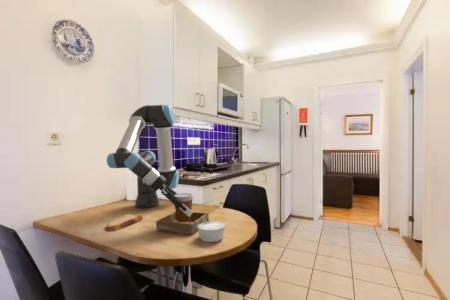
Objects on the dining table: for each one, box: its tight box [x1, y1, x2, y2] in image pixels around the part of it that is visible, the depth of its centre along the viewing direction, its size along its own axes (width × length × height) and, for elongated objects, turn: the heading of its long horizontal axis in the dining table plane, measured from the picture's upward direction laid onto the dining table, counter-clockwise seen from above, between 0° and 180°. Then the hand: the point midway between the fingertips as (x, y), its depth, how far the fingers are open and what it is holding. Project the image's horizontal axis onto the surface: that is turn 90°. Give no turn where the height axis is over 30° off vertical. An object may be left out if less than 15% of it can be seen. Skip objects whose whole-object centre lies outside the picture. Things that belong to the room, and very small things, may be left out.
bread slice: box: [105, 213, 144, 232], centre depth 120 cm, size 18×18×4 cm
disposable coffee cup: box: [174, 192, 194, 222], centre depth 114 cm, size 10×10×12 cm
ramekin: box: [197, 221, 226, 243], centre depth 98 cm, size 11×11×5 cm
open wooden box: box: [155, 210, 210, 236], centre depth 114 cm, size 18×18×4 cm
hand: (190, 211), depth 114 cm, fingers closed on disposable coffee cup, 9 cm apart
